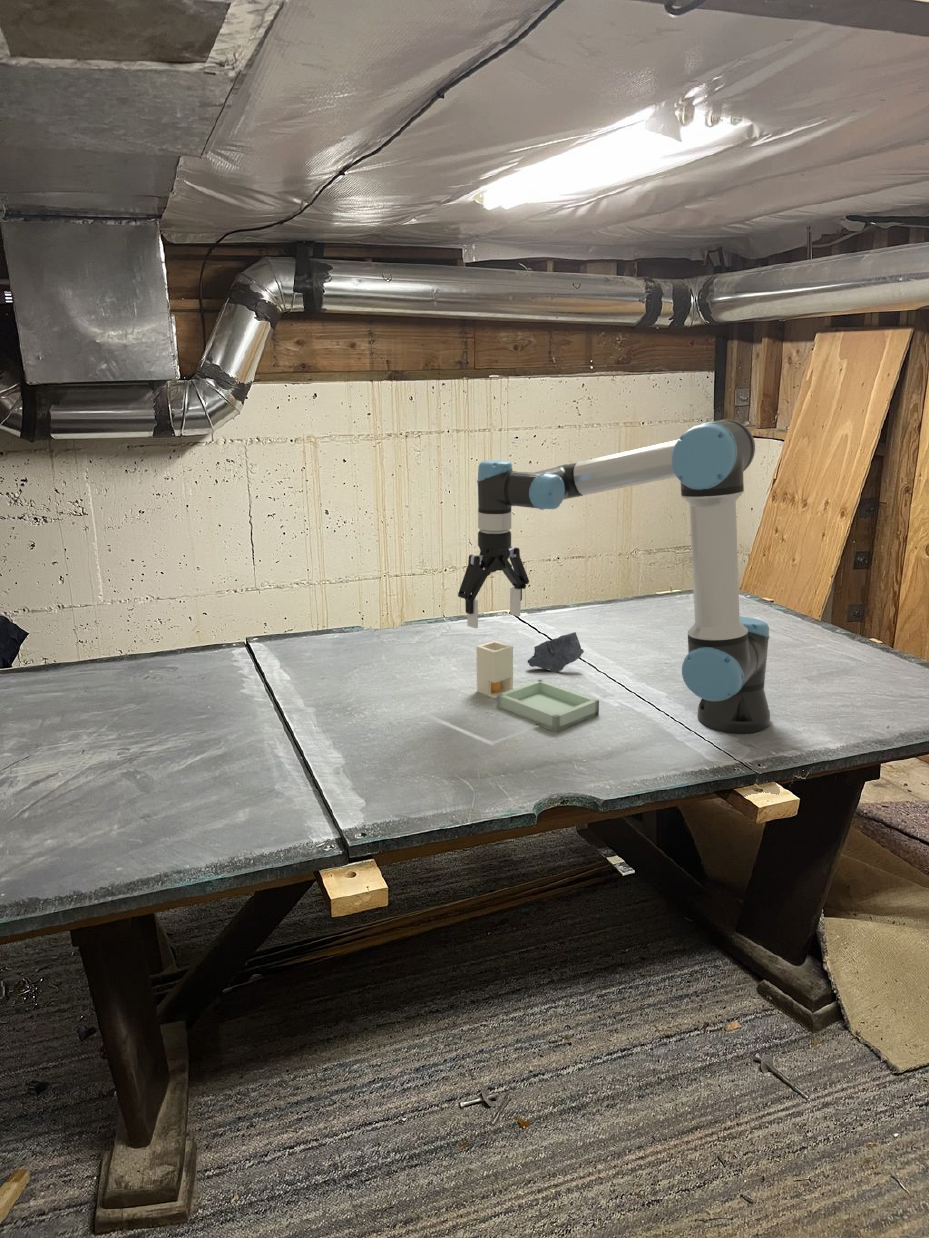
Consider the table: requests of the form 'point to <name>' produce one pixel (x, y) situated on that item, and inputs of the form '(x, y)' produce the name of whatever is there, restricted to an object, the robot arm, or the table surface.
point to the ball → (495, 686)
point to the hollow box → (494, 667)
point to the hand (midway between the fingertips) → (494, 620)
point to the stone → (557, 653)
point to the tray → (549, 705)
